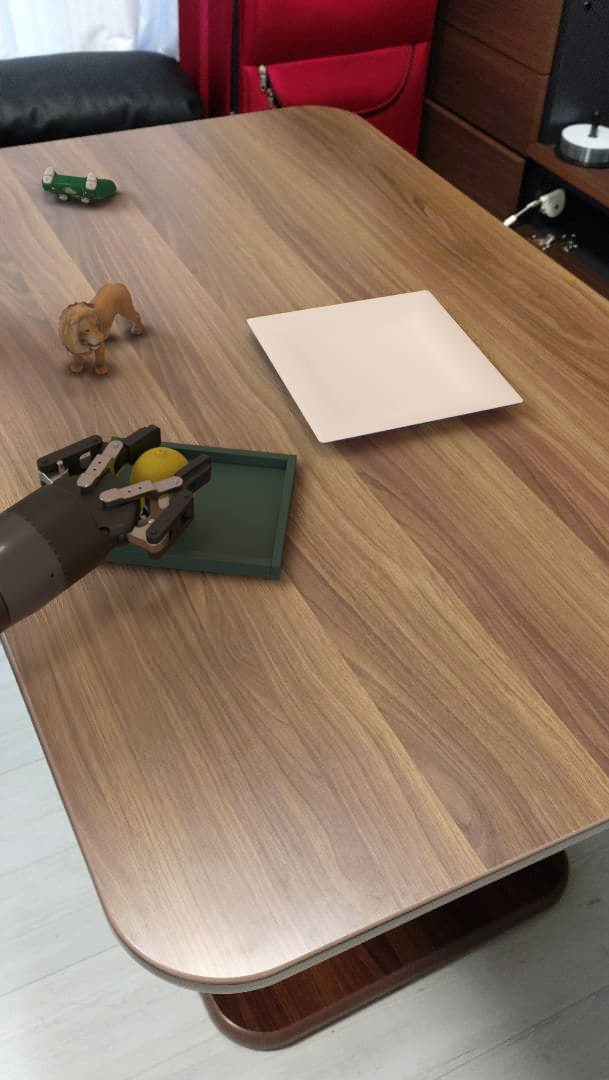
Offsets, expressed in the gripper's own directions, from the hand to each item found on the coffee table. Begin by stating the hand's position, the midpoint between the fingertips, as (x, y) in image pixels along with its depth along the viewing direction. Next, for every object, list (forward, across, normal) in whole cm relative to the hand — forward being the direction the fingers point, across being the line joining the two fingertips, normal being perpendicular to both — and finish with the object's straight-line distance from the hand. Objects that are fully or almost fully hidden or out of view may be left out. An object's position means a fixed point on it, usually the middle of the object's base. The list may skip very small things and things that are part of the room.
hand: (181, 448), depth 83 cm
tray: (0, -1, +7) cm, 7 cm away
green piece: (+34, +51, +7) cm, 62 cm away
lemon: (-3, 0, +7) cm, 7 cm away
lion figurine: (+12, +22, +7) cm, 26 cm away
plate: (+29, -1, +7) cm, 30 cm away
